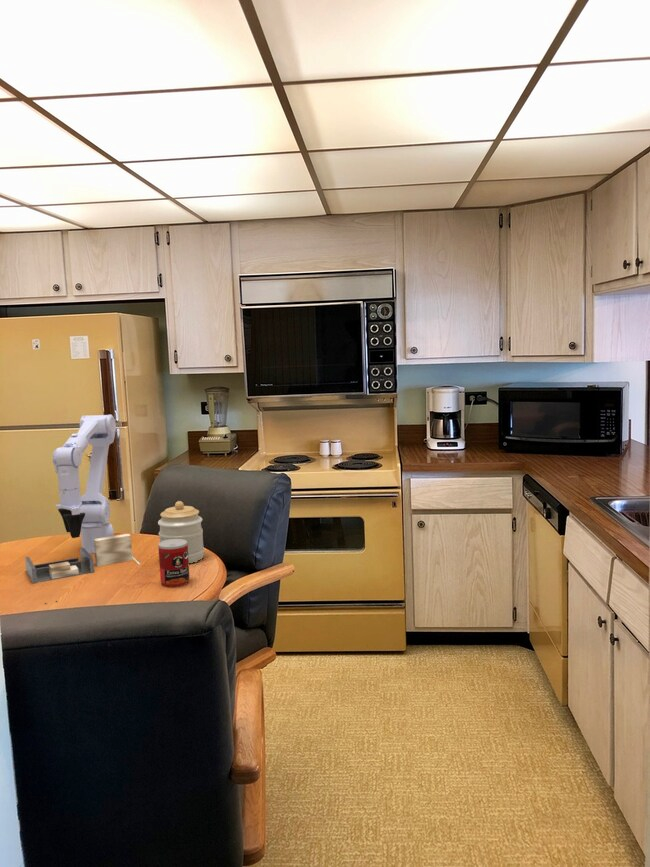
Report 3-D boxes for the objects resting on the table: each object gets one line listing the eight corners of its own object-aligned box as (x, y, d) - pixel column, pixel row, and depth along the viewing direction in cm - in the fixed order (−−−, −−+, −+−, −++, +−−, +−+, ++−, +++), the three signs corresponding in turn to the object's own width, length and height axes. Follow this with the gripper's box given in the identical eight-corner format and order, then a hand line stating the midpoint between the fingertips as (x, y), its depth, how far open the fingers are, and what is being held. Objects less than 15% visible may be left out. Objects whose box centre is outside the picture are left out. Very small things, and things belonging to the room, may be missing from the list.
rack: (84, 564, 204) (83, 547, 203) (94, 575, 193) (93, 558, 192) (26, 574, 196) (25, 557, 195) (33, 587, 185) (31, 569, 184)
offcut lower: (75, 570, 195) (75, 565, 195) (78, 574, 192) (78, 568, 191) (49, 575, 191) (49, 569, 191) (52, 578, 188) (51, 573, 188)
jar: (151, 563, 202) (147, 504, 200) (176, 551, 214) (173, 495, 212) (188, 567, 197) (185, 507, 195) (212, 554, 209) (209, 497, 207)
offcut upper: (68, 566, 194) (67, 561, 193) (70, 569, 191) (70, 564, 190) (49, 570, 191) (48, 564, 191) (51, 573, 188) (51, 567, 188)
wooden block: (130, 559, 205) (128, 533, 205) (132, 561, 203) (130, 535, 202) (95, 565, 200) (93, 539, 200) (97, 568, 198) (95, 541, 197)
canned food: (164, 589, 180) (162, 548, 178) (157, 580, 187) (154, 541, 186) (193, 584, 183) (191, 543, 182) (185, 575, 190) (182, 537, 189)
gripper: (50, 486, 202) (54, 531, 204) (59, 494, 190) (63, 542, 191) (75, 483, 206) (78, 527, 207) (85, 491, 193) (89, 538, 195)
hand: (73, 534), depth 200 cm, fingers open, 7 cm apart
